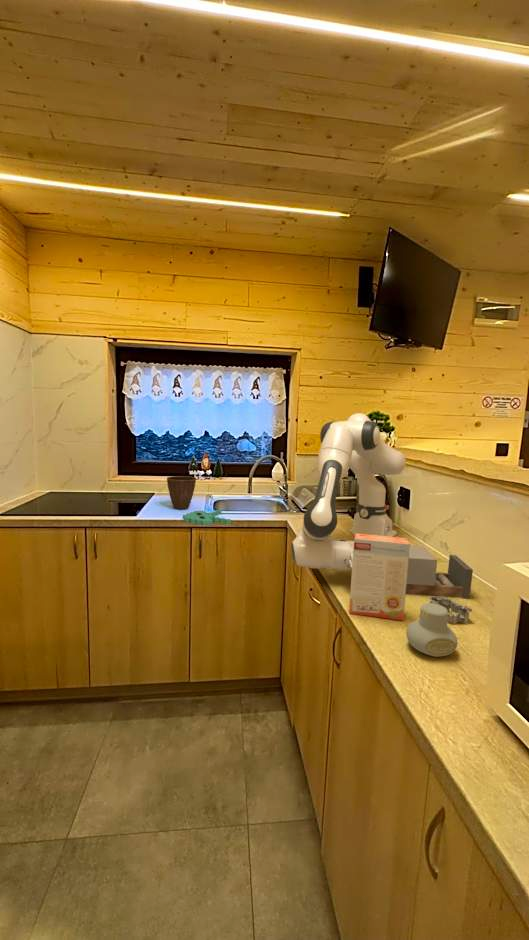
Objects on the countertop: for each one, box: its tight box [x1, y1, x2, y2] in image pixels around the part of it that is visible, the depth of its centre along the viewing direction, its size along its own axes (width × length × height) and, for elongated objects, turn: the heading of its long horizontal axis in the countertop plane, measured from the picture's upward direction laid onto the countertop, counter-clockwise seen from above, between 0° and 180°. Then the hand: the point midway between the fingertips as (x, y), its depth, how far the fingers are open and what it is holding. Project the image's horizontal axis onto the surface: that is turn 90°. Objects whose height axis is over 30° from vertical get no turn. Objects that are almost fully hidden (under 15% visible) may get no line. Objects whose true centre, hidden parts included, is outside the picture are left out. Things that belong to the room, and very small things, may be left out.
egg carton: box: [427, 595, 473, 625], centre depth 116 cm, size 11×8×4 cm
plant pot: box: [166, 475, 197, 511], centre depth 222 cm, size 15×15×16 cm
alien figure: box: [182, 509, 232, 526], centre depth 204 cm, size 20×2×20 cm
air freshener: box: [405, 602, 458, 658], centre depth 97 cm, size 11×8×10 cm
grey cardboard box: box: [406, 544, 438, 586], centre depth 133 cm, size 10×13×8 cm
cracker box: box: [348, 533, 411, 621], centre depth 113 cm, size 14×6×21 cm, turn 77°
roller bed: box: [405, 554, 474, 600], centre depth 133 cm, size 22×13×9 cm, turn 87°
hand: (387, 558), depth 133 cm, fingers closed
